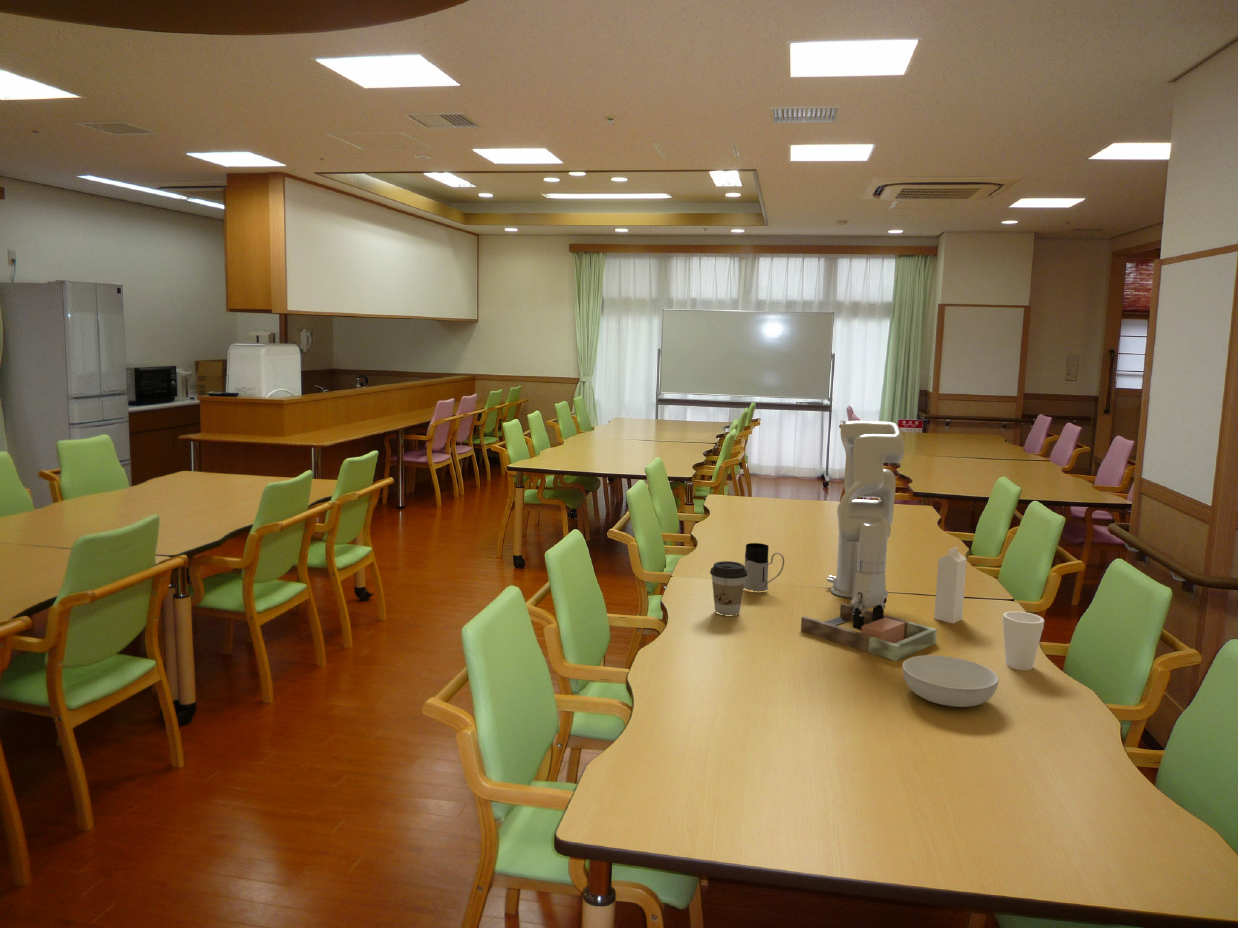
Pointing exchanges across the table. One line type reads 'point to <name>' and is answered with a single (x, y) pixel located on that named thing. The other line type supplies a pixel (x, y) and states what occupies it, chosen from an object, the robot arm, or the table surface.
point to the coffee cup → (728, 586)
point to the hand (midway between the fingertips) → (868, 625)
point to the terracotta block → (885, 630)
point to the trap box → (829, 630)
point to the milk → (950, 587)
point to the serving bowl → (949, 680)
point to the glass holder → (758, 566)
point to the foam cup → (1021, 638)
